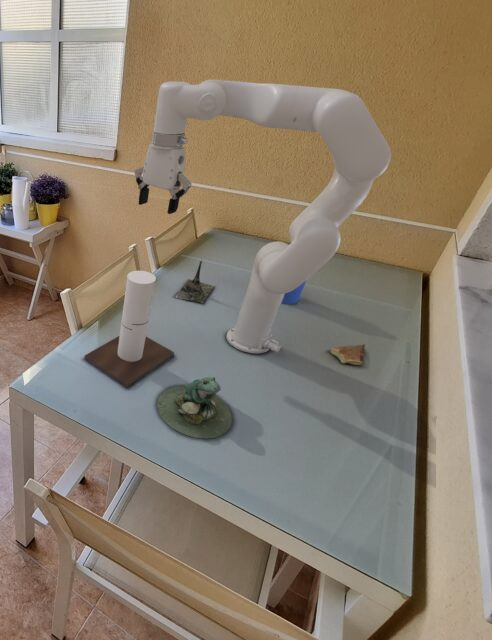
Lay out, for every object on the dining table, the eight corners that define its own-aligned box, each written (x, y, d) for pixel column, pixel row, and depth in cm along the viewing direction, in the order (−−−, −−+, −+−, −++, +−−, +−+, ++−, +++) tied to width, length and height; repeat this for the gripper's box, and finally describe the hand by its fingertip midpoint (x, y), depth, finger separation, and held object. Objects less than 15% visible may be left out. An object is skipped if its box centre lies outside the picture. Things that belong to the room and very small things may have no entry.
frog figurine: (188, 448, 95) (199, 413, 88) (143, 397, 109) (150, 363, 102) (247, 424, 101) (262, 389, 94) (197, 379, 114) (207, 345, 107)
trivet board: (173, 356, 123) (174, 352, 122) (126, 388, 112) (127, 384, 111) (131, 332, 132) (131, 328, 132) (84, 359, 121) (84, 355, 121)
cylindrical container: (142, 363, 118) (156, 285, 103) (116, 359, 119) (126, 282, 104) (142, 347, 123) (155, 272, 109) (118, 345, 125) (127, 269, 110)
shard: (362, 348, 125) (364, 343, 124) (381, 364, 119) (384, 359, 118) (328, 351, 124) (331, 346, 123) (346, 367, 118) (349, 362, 117)
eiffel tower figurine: (203, 305, 146) (212, 270, 138) (174, 297, 150) (181, 263, 142) (214, 287, 156) (223, 254, 148) (187, 280, 160) (194, 247, 152)
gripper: (206, 143, 100) (192, 213, 110) (149, 133, 111) (140, 197, 121) (188, 147, 96) (175, 220, 106) (130, 136, 107) (123, 203, 117)
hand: (156, 208), depth 114 cm, fingers open, 9 cm apart
